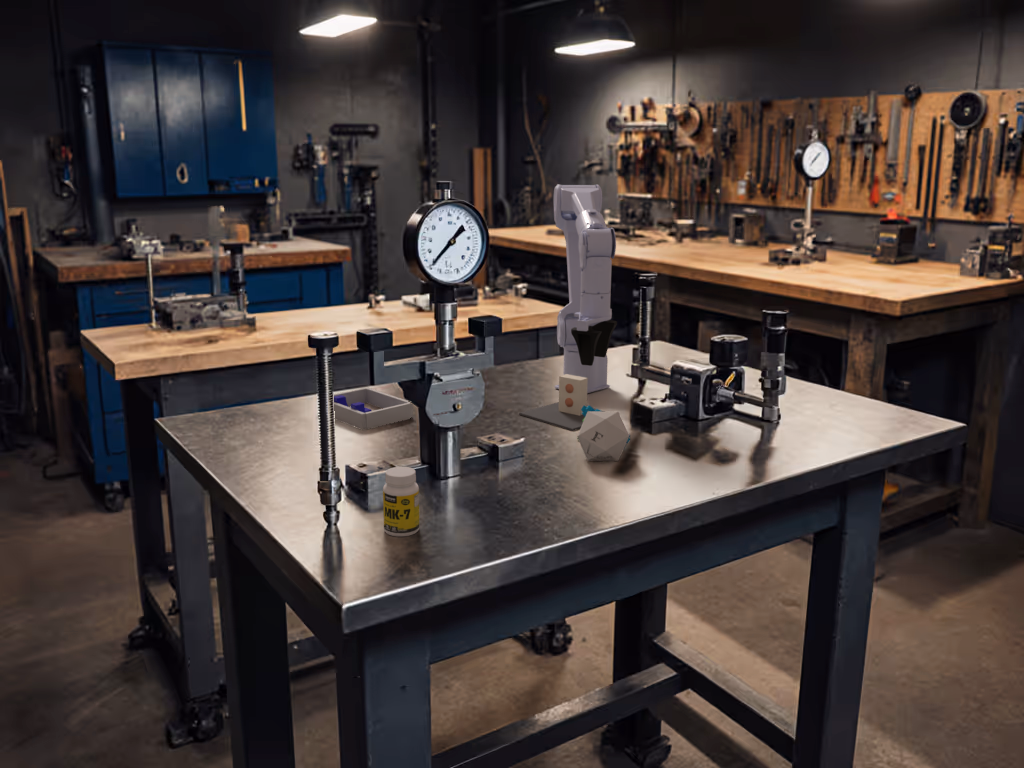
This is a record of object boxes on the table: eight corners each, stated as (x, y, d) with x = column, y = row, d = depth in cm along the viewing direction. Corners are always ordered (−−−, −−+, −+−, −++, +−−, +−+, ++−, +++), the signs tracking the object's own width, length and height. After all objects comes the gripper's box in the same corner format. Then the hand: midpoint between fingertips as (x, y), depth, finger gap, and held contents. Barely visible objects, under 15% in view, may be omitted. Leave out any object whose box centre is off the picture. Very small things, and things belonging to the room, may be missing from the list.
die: (566, 457, 149) (569, 424, 141) (594, 423, 153) (598, 390, 145) (607, 481, 146) (612, 449, 138) (634, 447, 150) (640, 414, 142)
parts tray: (367, 401, 179) (367, 387, 178) (414, 417, 168) (413, 402, 167) (318, 412, 171) (317, 397, 171) (363, 430, 160) (362, 414, 160)
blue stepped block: (372, 422, 166) (371, 402, 165) (356, 426, 164) (355, 405, 162) (349, 413, 172) (348, 393, 170) (333, 416, 169) (332, 396, 168)
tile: (565, 408, 173) (566, 373, 172) (586, 412, 170) (587, 377, 169) (558, 411, 171) (558, 376, 170) (579, 415, 168) (580, 380, 167)
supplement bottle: (379, 536, 116) (377, 476, 114) (389, 521, 121) (387, 464, 119) (414, 538, 115) (413, 478, 113) (423, 524, 120) (422, 466, 118)
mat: (565, 402, 179) (565, 400, 179) (618, 416, 169) (618, 414, 169) (519, 414, 170) (519, 412, 170) (572, 430, 161) (572, 428, 160)
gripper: (589, 285, 177) (587, 351, 180) (562, 295, 164) (560, 366, 167) (622, 287, 174) (620, 354, 177) (598, 298, 161) (595, 370, 164)
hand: (593, 360), depth 172 cm, fingers open, 7 cm apart
